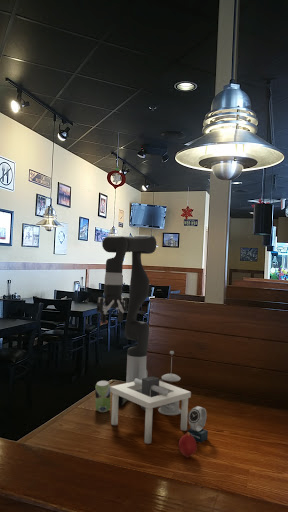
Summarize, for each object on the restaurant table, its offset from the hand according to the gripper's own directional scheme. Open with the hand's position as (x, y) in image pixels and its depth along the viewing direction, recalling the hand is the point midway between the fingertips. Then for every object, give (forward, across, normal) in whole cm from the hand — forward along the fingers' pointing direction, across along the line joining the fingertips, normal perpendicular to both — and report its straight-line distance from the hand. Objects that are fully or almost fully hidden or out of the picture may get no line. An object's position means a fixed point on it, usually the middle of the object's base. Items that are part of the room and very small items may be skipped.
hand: (111, 322), depth 167 cm
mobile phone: (+36, -12, -4) cm, 39 cm away
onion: (+36, +4, +48) cm, 60 cm away
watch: (+36, -9, +41) cm, 55 cm away
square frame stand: (+36, -2, +23) cm, 43 cm away
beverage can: (+36, +3, 0) cm, 36 cm away
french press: (+36, -20, +15) cm, 44 cm away
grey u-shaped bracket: (+29, -2, +23) cm, 37 cm away
